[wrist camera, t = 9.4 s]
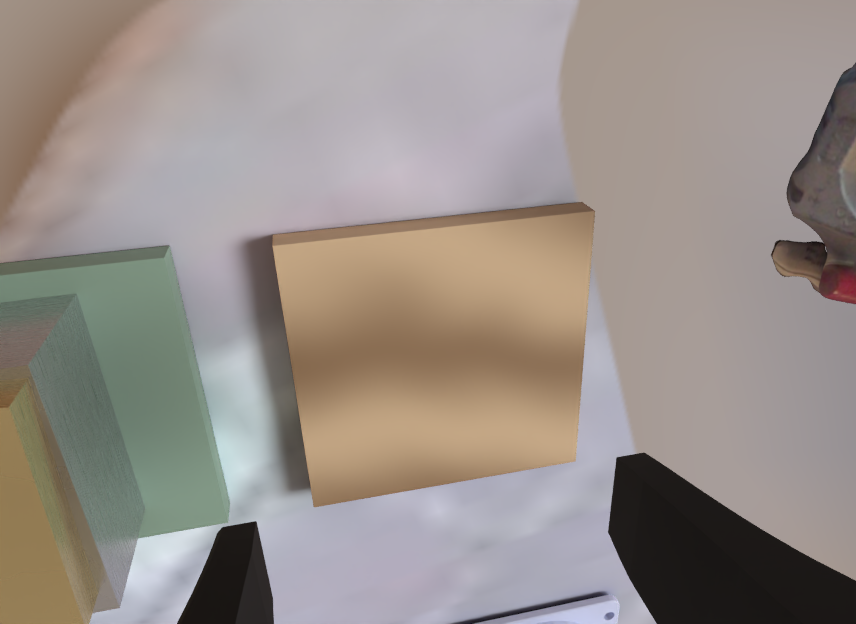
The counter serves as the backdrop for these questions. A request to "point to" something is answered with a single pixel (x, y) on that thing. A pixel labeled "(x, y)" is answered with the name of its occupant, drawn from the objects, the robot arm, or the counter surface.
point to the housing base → (78, 431)
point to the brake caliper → (826, 201)
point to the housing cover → (36, 523)
